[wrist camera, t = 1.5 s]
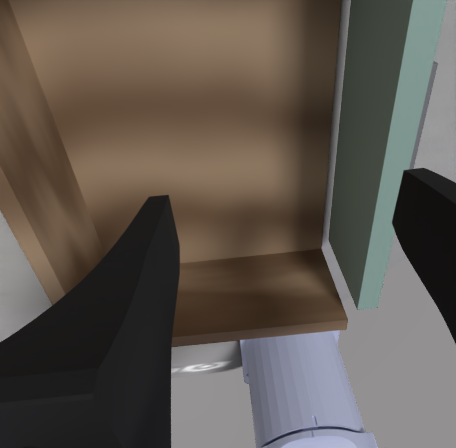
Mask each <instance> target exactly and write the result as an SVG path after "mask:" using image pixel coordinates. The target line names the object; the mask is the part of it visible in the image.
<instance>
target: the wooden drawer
mask: <svg viewBox="0 0 456 448" xmlns="http://www.w3.org/2000/svg"><path fill="white" fill-rule="evenodd" d="M340 11H341V0H0V210H1V212H2V214H3V216H4V217H5V219H6V221H7V223H8V225H9V226H10V228H11V230H12V232H13V234H14V236H15V237H16V239H17V241H18V243H19V245H20V247H21V248H22V250H23V252H24V254H25V256H26V257H27V259H28V261H29V263H30V265H31V267H32V268H33V270H34V272H35V274H36V276H37V277H38V279H39V281H40V283H41V285H42V287H43V288H44V290H45V292H46V294H47V296H48V298H49V299H50V301H51V303H52V305H54V304H55V303H56V302H57V301H59V300H60V299H61V298H62V297H63V296H64V295H66V294H67V293H68V292H69V291H70V290H72V289H73V288H74V287H75V286H76V285H77V284H78V283H79V282H81V281H82V280H83V279H84V278H85V277H86V276H87V275H88V274H89V273H90V272H91V271H92V270H93V269H94V268H95V267H96V265H97V264H98V263H99V262H100V261H101V260H102V259H103V258H104V256H105V255H106V254H107V253H108V252H109V250H110V249H111V248H112V247H113V246H114V244H115V243H116V242H117V241H118V239H119V238H120V237H121V235H122V234H123V233H124V231H125V230H126V229H127V227H128V226H129V225H130V223H131V222H132V220H133V219H134V217H135V216H136V214H137V213H138V212H139V210H140V209H141V207H142V206H143V204H144V203H145V201H146V200H147V199H148V197H151V196H161V195H169V198H170V203H171V207H172V212H173V216H174V221H175V226H176V230H177V235H178V239H179V244H180V276H179V284H178V293H177V301H176V309H175V317H174V325H173V333H172V346H171V347H178V346H188V345H198V344H208V343H218V342H228V341H238V340H247V339H257V338H267V337H277V336H287V335H297V334H307V333H317V332H327V331H337V330H346V329H347V323H348V319H347V316H346V313H345V310H344V308H343V306H342V303H341V300H340V297H339V295H338V292H337V289H336V287H335V284H334V281H333V279H332V276H331V273H330V271H329V268H328V265H327V263H326V260H325V257H324V255H323V252H322V249H321V247H322V234H323V222H324V210H325V197H326V185H327V172H328V160H329V148H330V135H331V123H332V111H333V98H334V86H335V73H336V61H337V49H338V36H339V24H340Z"/></svg>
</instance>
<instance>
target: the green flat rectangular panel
mask: <svg viewBox="0 0 456 448" xmlns="http://www.w3.org/2000/svg"><path fill="white" fill-rule="evenodd" d="M446 4H447V0H351V6H350V17H349V27H348V38H347V49H346V59H345V70H344V81H343V91H342V102H341V113H340V123H339V134H338V144H337V155H336V166H335V176H334V187H333V198H332V208H331V219H330V229H329V242H330V244H331V247H332V249H333V252H334V254H335V257H336V259H337V261H338V264H339V266H340V269H341V271H342V274H343V276H344V279H345V281H346V283H347V286H348V288H349V291H350V293H351V296H352V298H353V300H354V303H355V305H356V308H357V310H362V309H372V308H378V303H379V299H380V294H381V290H382V286H383V281H384V277H385V272H386V268H387V264H388V259H389V255H390V250H391V246H392V242H393V237H394V233H395V230H394V227H393V225H392V219H393V215H394V210H395V206H396V201H397V197H398V193H399V188H400V184H401V180H402V175H403V171H404V170H409V169H413V168H414V163H415V159H416V155H417V150H418V146H419V142H420V138H421V133H422V129H423V125H424V121H425V116H426V112H427V108H428V104H429V99H430V95H431V91H432V86H433V82H434V78H435V74H436V69H437V65H438V63H436V62H434V56H435V52H436V48H437V43H438V39H439V34H440V30H441V26H442V21H443V17H444V12H445V8H446Z"/></svg>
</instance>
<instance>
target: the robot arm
mask: <svg viewBox="0 0 456 448" xmlns="http://www.w3.org/2000/svg"><path fill="white" fill-rule="evenodd" d="M392 225H393V227H394V230H395V233H396V235H397V238H398V240H399V242H400V245H401V247H402V249H403V251H404V253H405V254H406V256H407V258H408V259H409V261H410V263H411V264H412V266H413V268H414V269H415V271H416V273H417V274H418V276H419V277H420V279H421V281H422V282H423V284H424V286H425V287H426V289H427V291H428V292H429V294H430V296H431V297H432V299H433V300H434V302H435V303H436V305H437V307H438V309H439V311H440V312H441V314H442V316H443V318H444V320H445V322H446V323H447V326H448V328H449V330H450V333H451V335H452V337H453V339H454V341H455V343H456V183H455V182H453V181H451V180H449V179H447V178H445V177H443V176H441V175H439V174H437V173H435V172H432V171H430V170H428V169H425V168H419V169H409V170H404V171H403V175H402V180H401V184H400V188H399V193H398V197H397V201H396V206H395V210H394V215H393V219H392ZM179 276H180V244H179V239H178V235H177V230H176V226H175V221H174V216H173V212H172V207H171V203H170V198H169V195H161V196H151V197H148V199H147V200H146V201H145V203H144V204H143V206H142V207H141V209H140V210H139V212H138V213H137V214H136V216H135V217H134V219H133V220H132V222H131V223H130V225H129V226H128V227H127V229H126V230H125V231H124V233H123V234H122V235H121V237H120V238H119V239H118V241H117V242H116V243H115V244H114V246H113V247H112V248H111V249H110V250H109V252H108V253H107V254H106V255H105V256H104V258H103V259H102V260H101V261H100V262H99V263H98V264H97V265H96V267H95V268H94V269H93V270H92V271H91V272H90V273H89V274H88V275H87V276H86V277H85V278H84V279H83V280H82V281H81V282H79V283H78V284H77V285H76V286H75V287H74V288H73V289H72V290H70V291H69V292H68V293H67V294H66V295H64V296H63V297H62V298H61V299H60V300H59V301H57V302H56V303H55V304H54V305H53V306H51V307H50V308H49V309H48V310H46V311H45V312H44V313H42V314H41V315H40V316H38V317H37V318H36V319H34V320H33V321H31V322H30V323H29V324H27V325H26V326H24V327H23V328H22V329H20V330H19V331H17V332H16V333H14V334H13V335H11V336H10V337H8V338H7V339H5V340H3V341H2V342H0V448H171V346H172V333H173V325H174V317H175V309H176V301H177V293H178V284H179ZM339 332H340V330H337V331H327V332H317V333H307V334H297V335H287V336H277V337H267V338H257V339H247V340H240V347H241V356H242V365H243V374H244V381H245V382H246V383H247V384H249V385H250V394H251V404H252V413H253V422H254V432H255V440H256V448H378V446H377V443H376V441H375V438H374V435H373V433H372V432H367V433H366V431H365V428H364V425H363V422H362V418H361V415H360V412H359V409H358V406H357V403H356V400H355V397H354V394H353V391H352V388H351V385H350V382H349V379H348V376H347V373H346V370H345V367H344V363H343V360H342V357H341V354H340V351H339V348H338V339H339Z"/></svg>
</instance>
